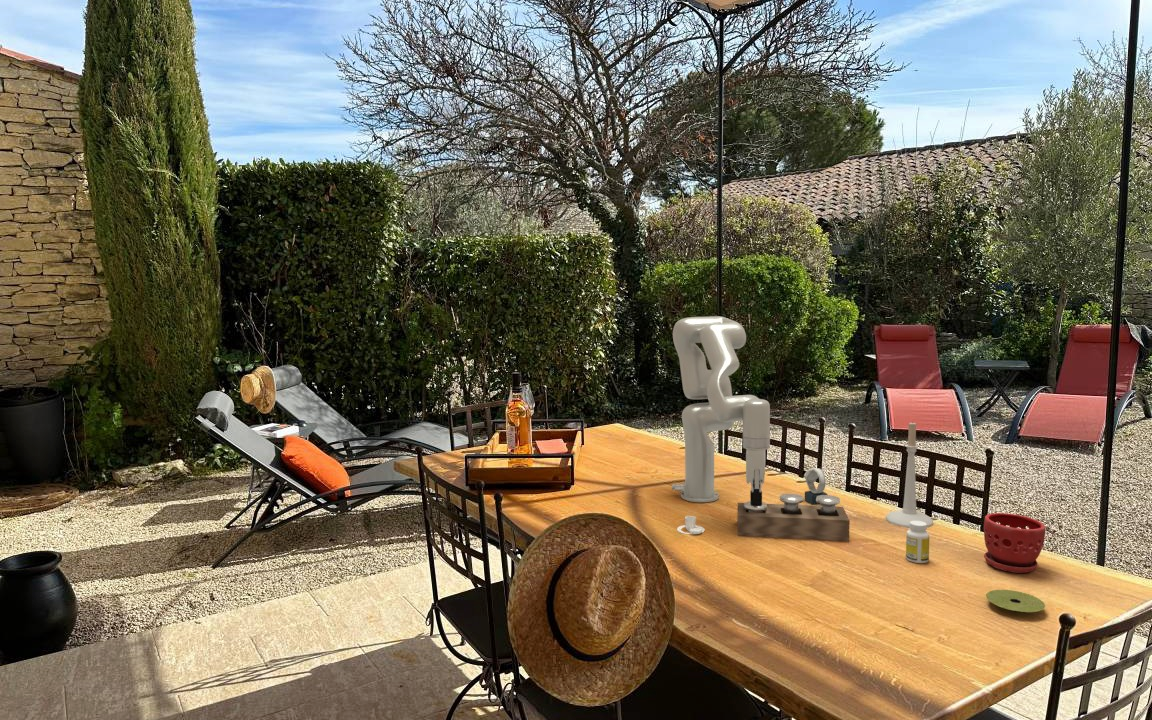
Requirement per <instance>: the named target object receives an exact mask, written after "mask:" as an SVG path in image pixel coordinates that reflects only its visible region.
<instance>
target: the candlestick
mask: <svg viewBox="0 0 1152 720" xmlns="http://www.w3.org/2000/svg"><path fill="white" fill-rule="evenodd" d="M907 433H908V435H907V436H908V437H907V444H904V445H905V447H906V452H907V453H908V454H907V462H906V473H905V484H904V496H903V504H902V506H903V507H902V509H897V510H893V511H890V512H889V513H887V514H886V515H885V520H886V521H887V522H888V523H889V524H892V525H894V526H897V525H898V527H901V526H902V527H903V528H908V529H911V528H910V522H911V521H922V522H925V523H926V524H927V528H930V527H932V526H933V525H934V520H933V519H932V517H930V516H929V515H927V514H926V513H922V512H920V511H918V510H917V495H916V494H917V492H916V489H917V487H916V458H915V454H916V452H917V448H918V447H919V445H917V444H916V440H917V439H916V438H917V435H916V434H917V423H916V422H913V421H912V422H908V432H907ZM902 527H901V528H902Z"/></svg>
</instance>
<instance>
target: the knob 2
mask: <svg viewBox="0 0 1152 720" xmlns="http://www.w3.org/2000/svg"><path fill="white" fill-rule="evenodd" d="M816 502H817V503H820V504H819V506H820V515H821V516H835V506H838V505H840V503H841V498H840V497H839V496H836V495H831V494H830V495H829V494H827V495H819V496H817V497H816Z"/></svg>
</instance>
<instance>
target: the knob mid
mask: <svg viewBox="0 0 1152 720" xmlns="http://www.w3.org/2000/svg"><path fill="white" fill-rule="evenodd" d="M779 501H781V502H782V503H783V504H784V514H799V505H800V504H803V503H804V497H803V495H801V494H798V493H797V494H796V493H783V494H780V495H779Z"/></svg>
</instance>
